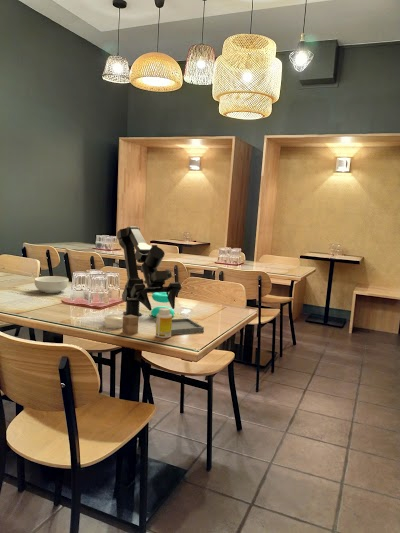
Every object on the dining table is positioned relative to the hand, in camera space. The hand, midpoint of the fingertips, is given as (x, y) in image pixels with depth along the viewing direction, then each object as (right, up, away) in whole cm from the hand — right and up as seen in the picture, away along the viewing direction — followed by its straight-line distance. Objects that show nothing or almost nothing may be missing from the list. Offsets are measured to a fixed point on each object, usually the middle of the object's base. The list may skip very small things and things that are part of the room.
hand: (162, 309), depth 150 cm
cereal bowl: (-64, +2, +65) cm, 91 cm away
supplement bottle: (0, -10, 0) cm, 10 cm away
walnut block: (-12, -9, +2) cm, 15 cm away
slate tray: (+6, -9, +11) cm, 15 cm away
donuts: (-3, -6, +29) cm, 30 cm away
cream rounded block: (-19, -8, +9) cm, 23 cm away
